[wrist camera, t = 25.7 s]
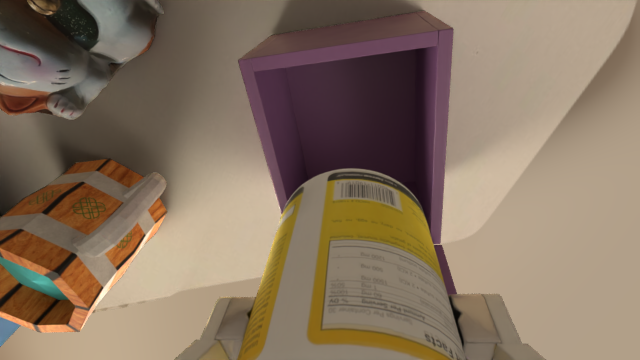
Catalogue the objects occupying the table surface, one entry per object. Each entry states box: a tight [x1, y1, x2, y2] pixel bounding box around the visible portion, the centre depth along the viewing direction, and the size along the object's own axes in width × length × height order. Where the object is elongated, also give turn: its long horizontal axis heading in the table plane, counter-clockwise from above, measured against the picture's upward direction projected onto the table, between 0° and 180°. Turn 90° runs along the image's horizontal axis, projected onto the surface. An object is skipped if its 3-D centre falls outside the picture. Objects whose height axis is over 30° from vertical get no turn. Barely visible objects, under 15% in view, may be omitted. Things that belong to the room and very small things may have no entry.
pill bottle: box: [237, 168, 466, 360], centre depth 10 cm, size 6×6×12 cm
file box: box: [238, 11, 454, 244], centre depth 29 cm, size 18×14×10 cm
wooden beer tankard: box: [0, 159, 167, 332], centre depth 36 cm, size 20×14×15 cm
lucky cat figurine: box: [0, 0, 164, 120], centre depth 25 cm, size 15×12×14 cm
